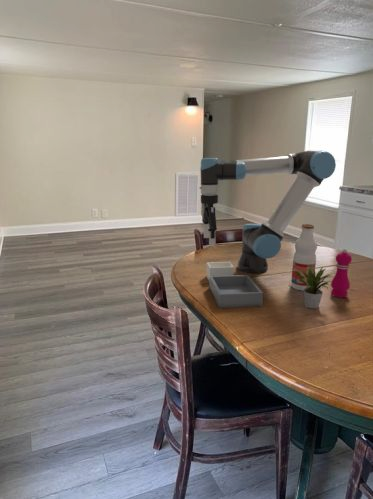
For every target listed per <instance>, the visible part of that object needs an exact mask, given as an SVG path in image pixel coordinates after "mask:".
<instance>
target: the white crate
mask: <svg viewBox="0 0 373 499" xmlns="http://www.w3.org/2000/svg"><path fill="white" fill-rule="evenodd" d="M234 273H235V266H234V265H233V264H232V263H231V261H217V262H216V261H212V262H206V278H207V280H208V281H209V277H210V276H231V275H234Z"/></svg>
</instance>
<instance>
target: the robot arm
mask: <svg viewBox="0 0 373 499" xmlns="http://www.w3.org/2000/svg"><path fill="white" fill-rule="evenodd" d="M336 165H337V164H336V159H335V157H334V155H333V154H332V153H330V152H329V151H325V150H305V151H300V152H294V153H288V154H287V155H286V156H275V157H274V156H271V157H257V158H249V159H248V158H247V159H245V158H244V159H236V160H235V159H234V160H220V161H219V158H217V157H203V158H202V159H201V160H200V187H199V190H200V194H201V195H200V203H201V204H202V205H203V215H202V222H203V239H208V246H216V243H217V242H216V241H217V240H216V235H217V234H216V233H217V232H216V231H217V229H218V228H217V218H216V207H214V205H216V204H218V203H219V195H218V194H219V181H231V180H232V181H233V180H234V181H239V180H240V181H241V180H244V179H245V178H246V176H259V175H260V176H261V175H273V174H283V173H284V174H285V173H286V174H287V175H296V176H297V178H296V179H295V181H294V182H293V183H292V184H291V186H290V187H289V189H288V191H287V192H286V193H285V195H284V197H283V198H282V200H281V201H280V202H279V204H278V206H277V207H276V208H275V210H274V212H273V213H272V214H271V216H270V217H269V219H268V221H266V222H262V223H245V224H243V227H242V240H241V242H242V243H241V255H240V257H239V259H238V263H237V269H238V270H239V271H241V272H244V273H250V274H251V273H253V274H260V273H265V272H267V271H268V270H269V269H268V268H269V263H268V260H267V259H272V258H273V257H275V256H277V255H278V253H279V252H280V251H281V247H282V246H281V245H282V241H283V240H284V238H285V235H284V233H285V231H286V229H287V227H288V226H289V224H290V223H291V222H292V220H293V218H295V216H296V214H297V213H298V212H299V210H300V208H301V207H302V205H303V204H304V202H305V201H306V200H307V198H308V197H309V195H310V194H311V192H312V191H313V189H314V188H317V187H320V185H321V184H322V183H323V181H324V180H326V179H329V178H330V177H332V175H334V173H335V170H336Z"/></svg>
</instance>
